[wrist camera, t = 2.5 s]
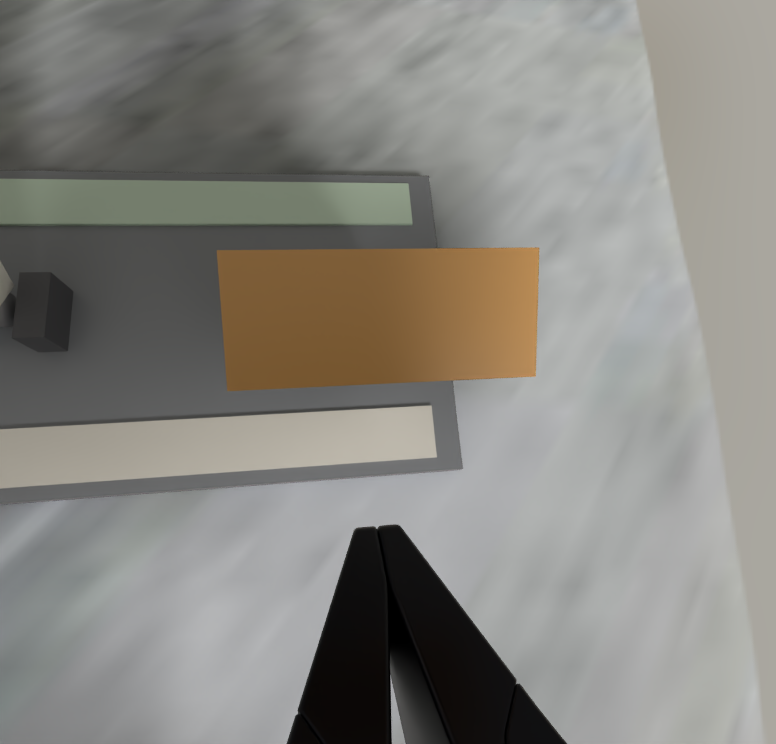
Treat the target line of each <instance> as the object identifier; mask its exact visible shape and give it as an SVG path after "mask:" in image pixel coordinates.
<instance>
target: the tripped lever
mask: <svg viewBox="0 0 776 744" xmlns="http://www.w3.org/2000/svg"><path fill="white" fill-rule="evenodd" d="M217 261H218V274H219V288H220V301H221V314H222V328H223V341H224V354H225V367H226V381H227V391H244V390H264V389H285V388H306V387H327V386H347V385H368V384H389V383H409V382H430V381H451V380H471V379H492V378H513V377H534V376H536V346H537V310H538V275H539V248H429V249H306V250H217Z"/></svg>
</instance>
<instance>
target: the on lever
mask: <svg viewBox="0 0 776 744" xmlns="http://www.w3.org/2000/svg"><path fill="white" fill-rule="evenodd" d="M13 287H14V284H13V282H12V281H11V279H10V277H9V275H8V274H7V272H6V270H5V268H4V266H3V265H2V263H1V261H0V327H13V322H14V313H15V305H16V297H15V296H14V295H13V294H12V293H10V291H11V290H12V288H13Z"/></svg>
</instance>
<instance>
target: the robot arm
mask: <svg viewBox="0 0 776 744" xmlns="http://www.w3.org/2000/svg"><path fill="white" fill-rule="evenodd" d="M390 674H391V679H392V683H393V688H394V693H395V697H396V702H397V706H398V711H399V715H400V720H401V724H402V729H403V733H404V738H405V742H406V744H567V743H566V742H565V741H564V739H563V738H562V737H561V736H560V735H559V733H558V732H557V731H556V730H555V728H554V727H553V726H552V725H551V723H550V722H549V721H548V720H547V718H546V717H545V716H544V715H543V713H542V712H541V711H540V710H539V708H538V707H537V706H536V705H535V703H534V702H533V701H532V699H531V698H530V697H529V695H528V694H527V693H526V691H525V690H524V689H523V687H522V686H521V685H520V684H516V678H515V677H514V676H513V674H512V673H511V672H510V670H509V669H508V668H507V666H506V665H505V664H504V662H503V661H502V660H501V658H500V657H499V656H498V655H497V653H496V652H495V651H494V649H493V648H492V647H491V645H490V644H489V643H488V641H487V640H486V639H485V637H484V636H483V635H482V633H481V632H480V631H479V629H478V628H477V627H476V625H475V624H474V623H473V621H472V620H471V619H470V618H469V616H468V615H467V614H466V612H465V611H464V610H463V608H462V607H461V606H460V604H459V603H458V602H457V600H456V599H455V598H454V596H453V595H452V594H451V592H450V591H449V590H448V588H447V587H446V586H445V584H444V583H443V582H442V580H441V579H440V578H439V577H438V575H437V574H436V573H435V571H434V570H433V569H432V567H431V566H430V565H429V563H428V562H427V561H426V559H425V558H424V557H423V555H422V554H421V553H420V551H419V550H418V549H417V547H416V546H415V545H414V543H413V542H412V541H411V539H410V538H409V537H408V536H407V534H406V533H405V532H404V530H403V529H402V528H401V527H400V526H399V525H384V526H379V527H378V529H376V527H373V526H372V527H361V528H356V529H355V530H354V532H353V535H352V538H351V542H350V545H349V548H348V551H347V554H346V558H345V561H344V564H343V567H342V570H341V573H340V577H339V580H338V583H337V586H336V589H335V593H334V596H333V599H332V602H331V605H330V609H329V612H328V615H327V618H326V621H325V625H324V628H323V631H322V634H321V637H320V640H319V644H318V647H317V650H316V653H315V656H314V660H313V663H312V666H311V669H310V672H309V676H308V679H307V682H306V685H305V688H304V691H303V695H302V698H301V701H300V704H299V707H298V714H297V715H296V716H295V719H294V722H293V726H292V729H291V732H290V735H289V738H288V741H287V744H392V738H391V687H390Z"/></svg>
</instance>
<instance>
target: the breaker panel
mask: <svg viewBox="0 0 776 744" xmlns="http://www.w3.org/2000/svg"><path fill="white" fill-rule="evenodd" d="M429 248H437V243H436V235H435V226H434V217H433V209H432V200H431V192H430V183H429V176H389V175H316V174H244V173H171V172H99V171H26V170H0V261H1V263H2V265H3V266H4V268H5V270H6V272H7V274H8V275H9V277H10V279H11V281H12V282H13V284H14V287H13V288H12V290H11V291H10V293H12V294H13V295H14V296H15V297H16V305H15V313H14V322H13V327H0V505H4V504H17V503H30V502H43V501H57V500H70V499H83V498H96V497H109V496H123V495H136V494H149V493H162V492H176V491H189V490H202V489H215V488H228V487H242V486H255V485H268V484H281V483H294V482H308V481H321V480H334V479H347V478H360V477H374V476H387V475H400V474H413V473H426V472H440V471H453V470H460V469H463V466H462V458H461V449H460V441H459V432H458V423H457V415H456V406H455V398H454V389H453V381H452V380H451V381H430V382H409V383H389V384H368V385H347V386H327V387H306V388H285V389H264V390H244V391H227V381H226V367H225V354H224V341H223V328H222V314H221V301H220V288H219V274H218V261H217V250H306V249H429Z"/></svg>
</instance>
